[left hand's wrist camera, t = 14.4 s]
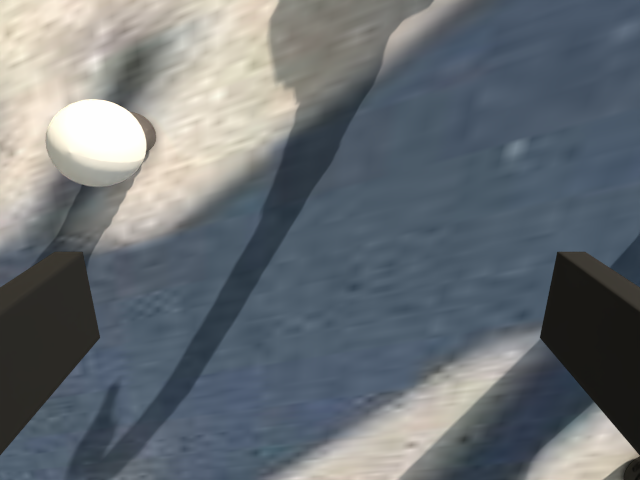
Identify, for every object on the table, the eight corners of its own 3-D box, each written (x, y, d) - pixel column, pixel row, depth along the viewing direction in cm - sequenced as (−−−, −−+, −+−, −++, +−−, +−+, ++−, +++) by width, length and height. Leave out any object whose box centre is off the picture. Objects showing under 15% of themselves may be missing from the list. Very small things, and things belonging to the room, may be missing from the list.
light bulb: (177, 113, 40) (128, 125, 30) (158, 179, 43) (106, 212, 32) (105, 84, 40) (29, 86, 29) (89, 153, 42) (13, 177, 31)
